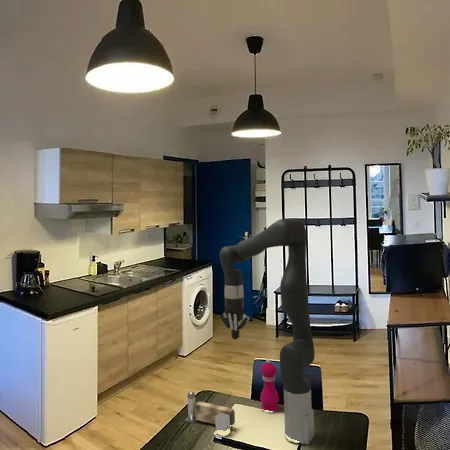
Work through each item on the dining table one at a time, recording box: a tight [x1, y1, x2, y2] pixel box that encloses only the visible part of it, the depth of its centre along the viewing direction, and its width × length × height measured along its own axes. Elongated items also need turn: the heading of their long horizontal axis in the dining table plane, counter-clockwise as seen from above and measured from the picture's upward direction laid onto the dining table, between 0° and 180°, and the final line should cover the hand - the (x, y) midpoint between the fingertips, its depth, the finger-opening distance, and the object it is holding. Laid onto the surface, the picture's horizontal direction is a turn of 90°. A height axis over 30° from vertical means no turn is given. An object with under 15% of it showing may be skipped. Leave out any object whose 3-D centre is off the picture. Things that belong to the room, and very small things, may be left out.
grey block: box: [215, 413, 231, 432], centre depth 154 cm, size 4×4×6 cm
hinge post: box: [184, 391, 198, 424], centre depth 164 cm, size 4×4×11 cm
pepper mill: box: [259, 358, 280, 412], centre depth 170 cm, size 7×7×20 cm
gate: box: [195, 401, 236, 426], centre depth 160 cm, size 15×3×6 cm, turn 62°
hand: (235, 338), depth 174 cm, fingers closed
